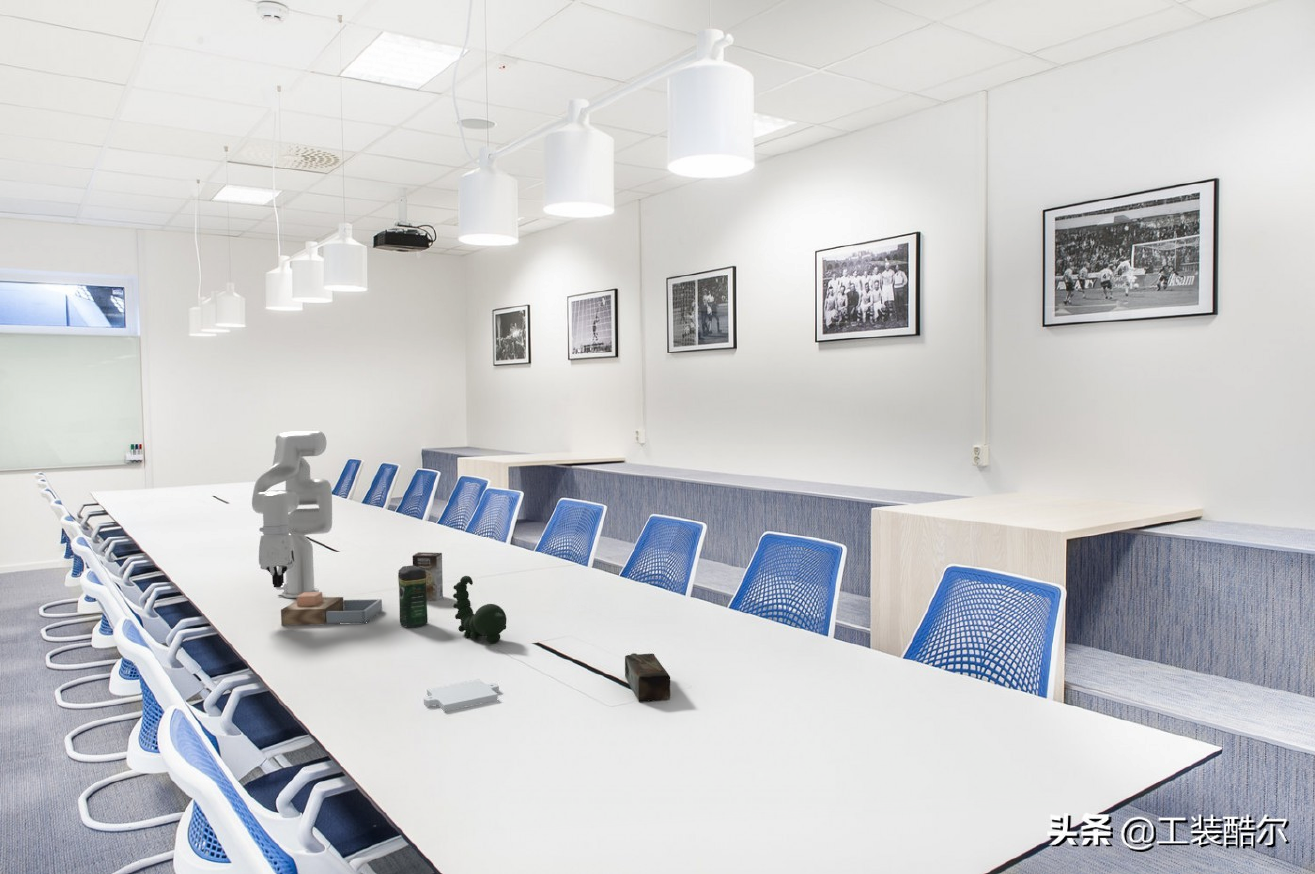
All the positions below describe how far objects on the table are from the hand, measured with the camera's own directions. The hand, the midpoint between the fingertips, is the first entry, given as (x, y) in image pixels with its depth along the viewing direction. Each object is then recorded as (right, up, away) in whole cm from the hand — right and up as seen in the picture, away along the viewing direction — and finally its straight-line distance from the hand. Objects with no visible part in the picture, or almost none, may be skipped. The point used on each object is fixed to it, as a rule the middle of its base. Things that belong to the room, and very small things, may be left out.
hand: (278, 586), depth 282 cm
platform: (+11, -11, +1) cm, 15 cm away
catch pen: (+25, -10, +1) cm, 27 cm away
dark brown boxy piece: (+122, -13, -72) cm, 142 cm away
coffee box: (+42, -9, +26) cm, 50 cm away
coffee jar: (+47, -11, -9) cm, 49 cm away
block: (+10, -6, +1) cm, 11 cm away
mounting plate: (+78, -14, -76) cm, 110 cm away
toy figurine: (+72, -11, -26) cm, 77 cm away
